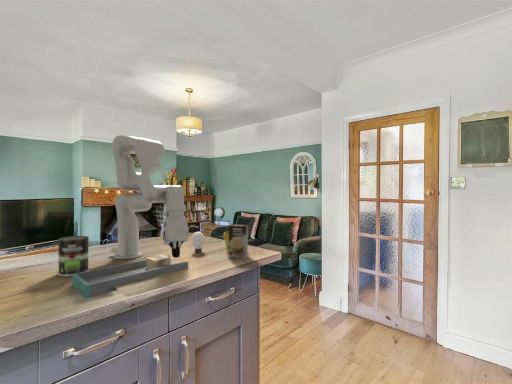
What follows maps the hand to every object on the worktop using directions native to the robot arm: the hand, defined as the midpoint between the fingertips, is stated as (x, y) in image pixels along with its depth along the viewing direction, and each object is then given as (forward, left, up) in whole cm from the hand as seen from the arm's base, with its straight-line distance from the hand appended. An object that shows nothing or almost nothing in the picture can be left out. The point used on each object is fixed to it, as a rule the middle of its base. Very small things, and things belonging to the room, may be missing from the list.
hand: (175, 256), depth 115 cm
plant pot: (+19, +35, -5) cm, 40 cm away
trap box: (-11, -13, -5) cm, 18 cm away
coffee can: (-39, -9, -5) cm, 41 cm away
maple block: (-5, -6, -3) cm, 8 cm away
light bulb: (+1, +29, -5) cm, 29 cm away
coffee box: (+24, +21, -5) cm, 32 cm away
